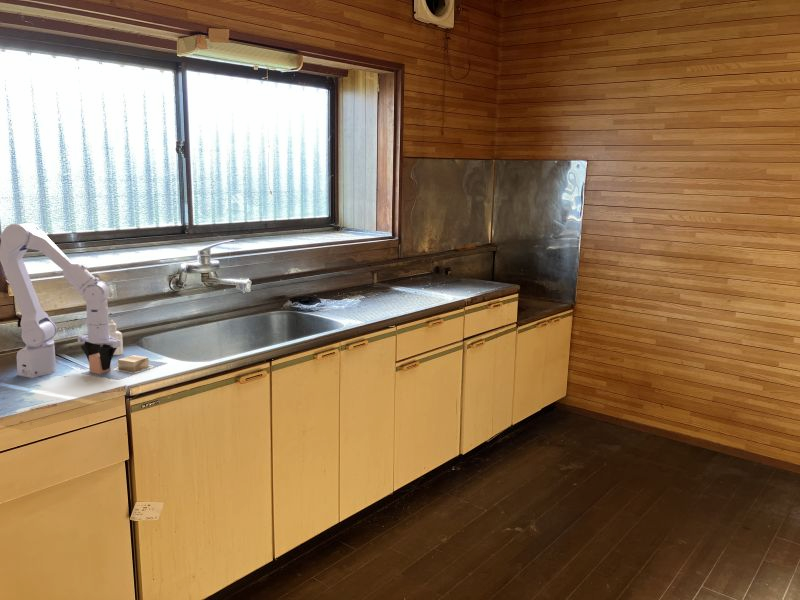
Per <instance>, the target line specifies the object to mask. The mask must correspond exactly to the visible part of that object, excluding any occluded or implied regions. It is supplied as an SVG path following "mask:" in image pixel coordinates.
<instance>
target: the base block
mask: <svg viewBox="0 0 800 600" xmlns="http://www.w3.org/2000/svg"><path fill="white" fill-rule="evenodd" d="M149 360H150V359H149V357H148V356H141V355H135V354H132V355H129V356H125V357H121V358H118V359H117V362H118V369H120V370H126V371H132V372H135V371H138V370H141V369H144V368H147V367H149Z"/></svg>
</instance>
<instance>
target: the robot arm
mask: <svg viewBox="0 0 800 600" xmlns="http://www.w3.org/2000/svg"><path fill="white" fill-rule="evenodd" d="M28 250H34V251H39V252H41V253H42V254H43V255H45V256H46V257H47V258H48V259H49V260H51V261H52V262H53V263H54V264H55V265H57V266H58V267H59V268H60V269H61V270H62V272H63V273H62V275H63V278H64V279H66V280H67V281H68V282H69V283H70V284H71V285H72V286H73V287H74V288H76V289H77V290H78V291H79V292H80V293H82V294H81V295H82V299H83V300H84V301H85V302H86V303H85V306H86V327H87V328H86V330H87V334H79V335H77V343H83V344H82V345H80V349H81V350H82V351H83V353H84V354H85V357H86V358H87V362H89V355H93V354H96V353H99V355H100V358H101V366H102V370H107V369H109V368H110V364H112V359H113V356H114V355H113V354H114V352H115V350H116V349H117V347H120V340H117V339H114V338H111V336H110V335H109V324H110V322H109V305H108V303H109V302H108V297H109V296H110V293H111V292H110V287H109V286H108V284H107V282H105V281H102V280H100V278H99V277H95V276H94V275H93V274H92V273H91V272H90V271H89V270H88V269H87V268H88V266H87V265H86V264H81V263H80V262H73V261H72V260H71V259H70V258H69V257H68V256H67V255H66V254H65V253H64V252H63V251H62V250H61V249H60V248H59V247H58V246H57V245H56V244H55V242H54V241H53V240H51V239H50V237H49V236H48V235H47V234H46V232H45V231H44V230H42V229H40V228H39V227H38V226H37V225H36V224H34V223H33V222H28V221H27V222H23V223H12V224H9V225H7V226H6V227H5V228H4V230H3V231H2V232H1V233H0V265H1V266H2V268H3V271H4V274H5V277H6V280H7V282H8V284H9V286H10V288H11V291H12V294H13V296H14V299H15V302H16V304H17V306H18V309H19V312H20V314H21V320H20V323H19V324H20V328H21V339H22V341H23V343H24V344H25V347H23V348H21V349H19V350H18V351H17V353H16V370H17V372H16V373H17V376H20V377H25V378H30V379H34V378H37V377H40V376H45V375H50V374H53V373H56V371H57V369H56V368H57V367H56V366H57V365H56V350H55V340H54V337H56V335H57V332H58V331H57V330H58V329H57V325H56V324H55V322H54V321H53V320H51V317H50V316H49V314H48V313H47V312H46V311H45V310H43V308H42V306H41V303H40V300H39V298H38V295H37V293H36V290H35V287H34V286H33V283H32V280H31V278H30V275H29V272H28V270H27V269H28V268H26V264H25V262H24V259H23V257H24V256H25V254H26V253H27V251H28Z"/></svg>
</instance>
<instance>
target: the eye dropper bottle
mask: <svg viewBox="0 0 800 600" xmlns="http://www.w3.org/2000/svg"><path fill="white" fill-rule="evenodd" d="M117 326H118V325H117V323H115V321H114V319H111V320H110V322H109V335H110V336H111V338H114V339H117V340H120V347H117V349H116V350H115V352H114V354H113V356H120V355H123V354H124V347H123V346H124V344H123V343H124V341H123V332H121V331H119V330H117V329H118V327H117Z"/></svg>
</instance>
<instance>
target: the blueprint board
mask: <svg viewBox="0 0 800 600" xmlns="http://www.w3.org/2000/svg"><path fill="white" fill-rule="evenodd" d="M148 360H149V367H147V368H144V369H141V370H138V371H135V372H132V371H126V370H120V369H118V361H117V362H114V363H110V366H111V370H110V371H107V372H104V373H101V374H98V373H93V372H90V370H89V371H84V372H81V374H83V375H88V376H89V375H90V376H95V377H100V378H105V379H110V380H115V381H120V380H122V379H126V378H129V377H132V376H134V375H138V374H140V373H144V372H146V371H149V370H152V369H155V368H158V367H161V366H163V365H166V364H168V363H167V362H163V361H157V360H156V361H155V360H150V359H148Z"/></svg>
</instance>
